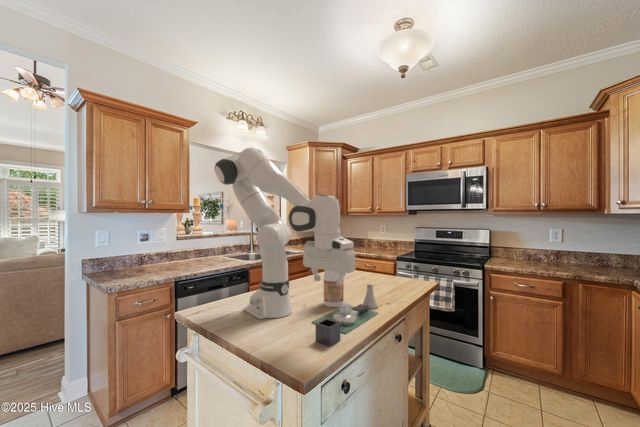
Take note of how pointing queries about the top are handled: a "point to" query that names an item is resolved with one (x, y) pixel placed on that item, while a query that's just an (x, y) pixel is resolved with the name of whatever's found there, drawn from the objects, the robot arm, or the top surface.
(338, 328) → the dark square pot
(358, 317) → the green placemat
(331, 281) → the fruit juice
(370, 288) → the flask
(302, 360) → the top surface
